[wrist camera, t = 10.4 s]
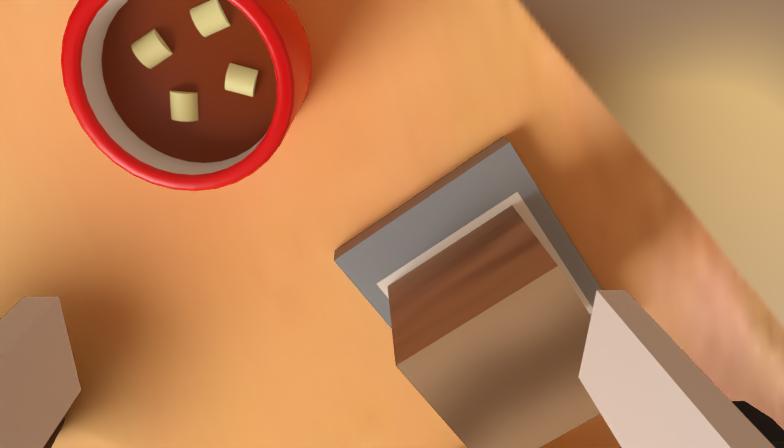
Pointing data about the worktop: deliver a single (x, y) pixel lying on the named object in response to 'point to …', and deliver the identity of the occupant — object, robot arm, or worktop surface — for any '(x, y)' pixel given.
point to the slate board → (459, 226)
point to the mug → (186, 84)
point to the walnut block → (494, 338)
